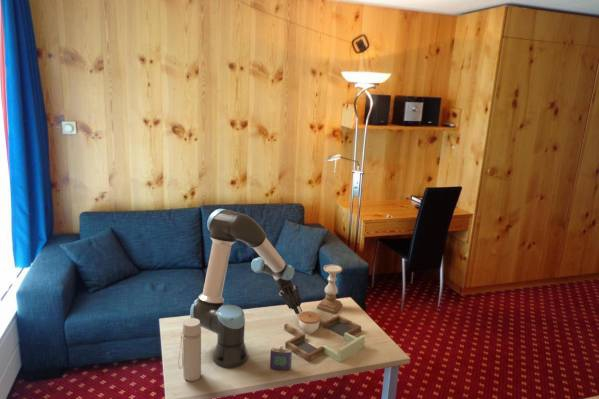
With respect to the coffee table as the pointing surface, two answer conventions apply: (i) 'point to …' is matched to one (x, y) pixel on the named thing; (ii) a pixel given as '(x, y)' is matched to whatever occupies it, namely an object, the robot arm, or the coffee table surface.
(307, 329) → the lidded jar
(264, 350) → the coffee table surface
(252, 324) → the coffee table surface
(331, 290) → the candle holder
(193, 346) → the water bottle
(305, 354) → the track
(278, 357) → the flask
